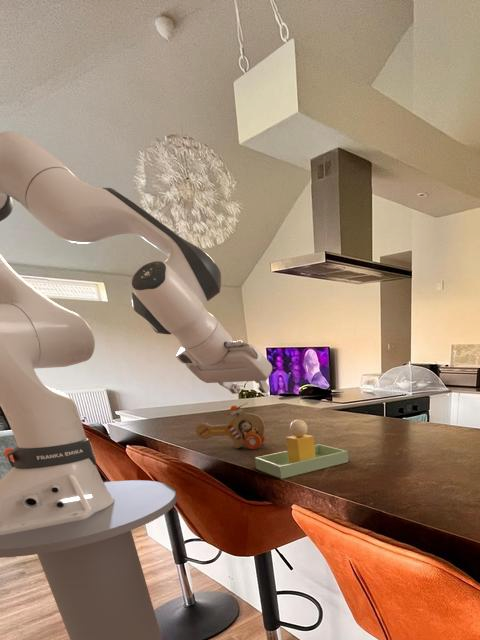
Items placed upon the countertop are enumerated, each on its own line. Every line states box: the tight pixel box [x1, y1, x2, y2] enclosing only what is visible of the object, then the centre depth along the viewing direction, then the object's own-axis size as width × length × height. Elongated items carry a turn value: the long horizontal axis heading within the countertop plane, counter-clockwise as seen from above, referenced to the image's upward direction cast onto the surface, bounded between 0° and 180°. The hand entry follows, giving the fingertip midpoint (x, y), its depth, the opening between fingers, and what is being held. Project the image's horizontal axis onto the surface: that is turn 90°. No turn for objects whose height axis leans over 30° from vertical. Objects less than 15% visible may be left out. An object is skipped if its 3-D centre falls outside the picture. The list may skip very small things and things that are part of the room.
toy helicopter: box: [195, 402, 266, 450], centre depth 130 cm, size 8×21×14 cm, turn 94°
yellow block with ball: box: [285, 419, 316, 464], centre depth 107 cm, size 5×5×11 cm
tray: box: [254, 443, 349, 480], centre depth 109 cm, size 20×13×3 cm
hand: (251, 391), depth 98 cm, fingers open, 8 cm apart
